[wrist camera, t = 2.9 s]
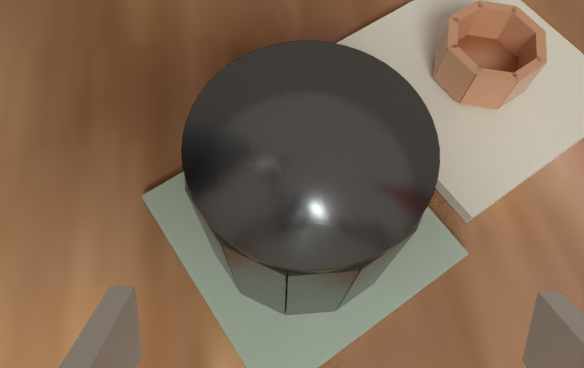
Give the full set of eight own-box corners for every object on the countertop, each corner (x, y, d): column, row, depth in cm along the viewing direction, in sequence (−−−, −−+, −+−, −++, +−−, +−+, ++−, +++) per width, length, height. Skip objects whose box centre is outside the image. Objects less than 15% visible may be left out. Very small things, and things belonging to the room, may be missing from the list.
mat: (143, 199, 30) (141, 196, 29) (325, 93, 33) (326, 88, 32) (269, 404, 25) (269, 404, 24) (465, 256, 28) (468, 253, 28)
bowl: (414, 64, 33) (428, 28, 30) (477, 26, 34) (497, -12, 31) (474, 126, 31) (496, 95, 28) (538, 84, 32) (566, 49, 29)
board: (321, 59, 34) (322, 50, 33) (474, -26, 38) (479, -36, 37) (466, 223, 29) (472, 217, 28) (625, 107, 33) (634, 98, 32)
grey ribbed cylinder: (181, 203, 29) (135, 112, 20) (320, 120, 31) (336, 6, 22) (278, 352, 25) (276, 327, 16) (425, 246, 28) (494, 172, 19)
